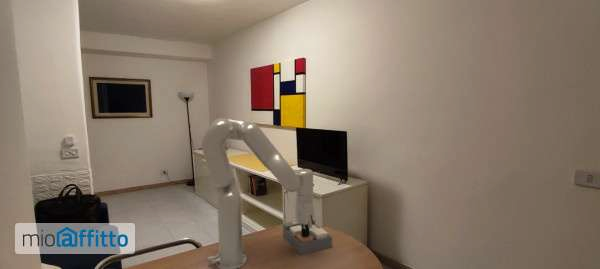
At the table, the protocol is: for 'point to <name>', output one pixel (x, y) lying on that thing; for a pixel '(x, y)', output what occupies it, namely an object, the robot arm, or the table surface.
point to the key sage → (312, 228)
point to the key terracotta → (305, 239)
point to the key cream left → (296, 230)
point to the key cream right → (319, 233)
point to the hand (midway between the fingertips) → (305, 236)
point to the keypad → (307, 246)
